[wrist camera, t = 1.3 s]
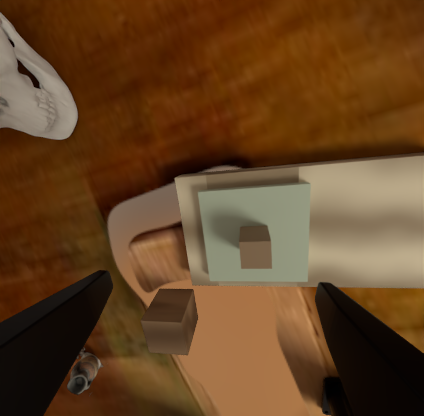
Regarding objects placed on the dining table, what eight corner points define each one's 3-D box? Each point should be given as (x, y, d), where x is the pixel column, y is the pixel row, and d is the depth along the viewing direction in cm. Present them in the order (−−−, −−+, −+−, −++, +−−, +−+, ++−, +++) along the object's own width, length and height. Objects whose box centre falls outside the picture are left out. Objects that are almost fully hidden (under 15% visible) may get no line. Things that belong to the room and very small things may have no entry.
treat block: (198, 317, 27) (187, 355, 22) (165, 316, 28) (149, 352, 23) (193, 289, 25) (181, 322, 21) (159, 288, 26) (140, 320, 22)
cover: (305, 276, 20) (318, 306, 16) (211, 276, 22) (204, 302, 18) (307, 181, 17) (323, 192, 14) (199, 190, 19) (188, 201, 15)
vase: (93, 333, 31) (63, 377, 25) (121, 353, 32) (97, 400, 27) (75, 347, 33) (42, 391, 27) (101, 365, 34) (75, 412, 28)
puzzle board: (408, 274, 20) (425, 288, 19) (196, 274, 24) (192, 285, 23) (433, 151, 17) (456, 152, 15) (180, 174, 21) (174, 178, 19)
